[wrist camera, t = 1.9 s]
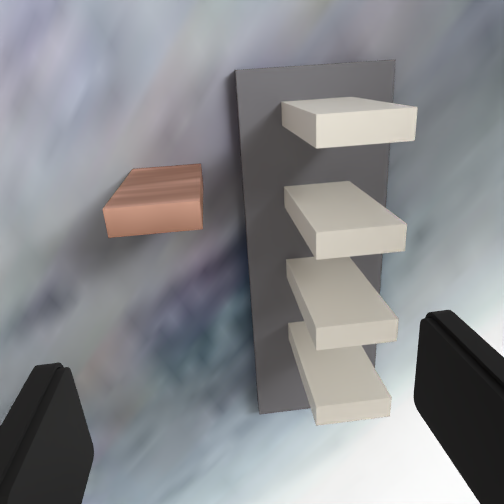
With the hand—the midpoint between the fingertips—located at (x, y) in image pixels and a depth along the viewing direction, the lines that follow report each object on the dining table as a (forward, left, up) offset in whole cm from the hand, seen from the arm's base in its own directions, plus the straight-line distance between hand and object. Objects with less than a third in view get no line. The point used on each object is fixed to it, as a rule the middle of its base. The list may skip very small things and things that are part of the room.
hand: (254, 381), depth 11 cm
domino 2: (-5, +7, -22) cm, 23 cm away
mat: (+7, +7, -23) cm, 25 cm away
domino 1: (-1, -4, -23) cm, 23 cm away
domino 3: (+1, +7, -22) cm, 23 cm away
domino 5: (+13, +7, -22) cm, 26 cm away
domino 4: (+7, +7, -22) cm, 24 cm away
